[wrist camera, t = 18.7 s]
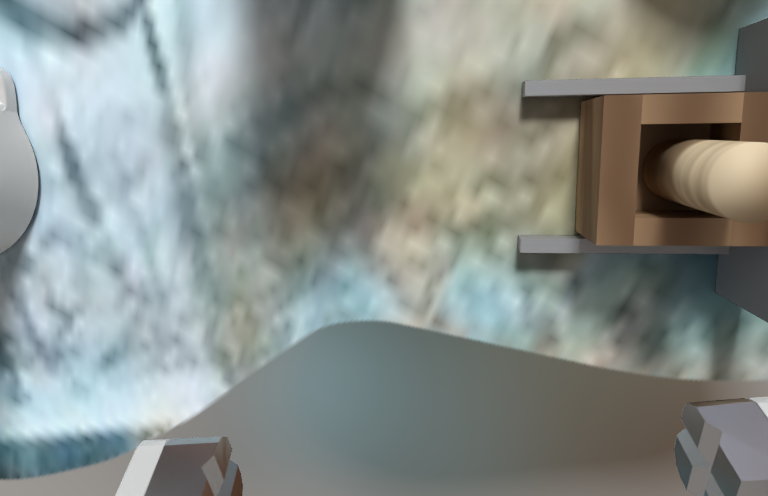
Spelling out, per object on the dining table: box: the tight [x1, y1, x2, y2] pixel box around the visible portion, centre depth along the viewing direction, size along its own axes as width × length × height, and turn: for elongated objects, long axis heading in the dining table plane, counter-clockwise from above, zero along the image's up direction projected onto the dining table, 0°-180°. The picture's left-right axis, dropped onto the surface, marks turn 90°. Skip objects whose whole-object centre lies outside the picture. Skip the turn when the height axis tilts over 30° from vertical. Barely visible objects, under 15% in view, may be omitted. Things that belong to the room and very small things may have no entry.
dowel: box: [642, 139, 768, 223], centre depth 33 cm, size 4×4×10 cm
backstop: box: [518, 18, 768, 322], centre depth 36 cm, size 16×18×9 cm
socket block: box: [575, 92, 768, 246], centre depth 37 cm, size 10×9×6 cm
